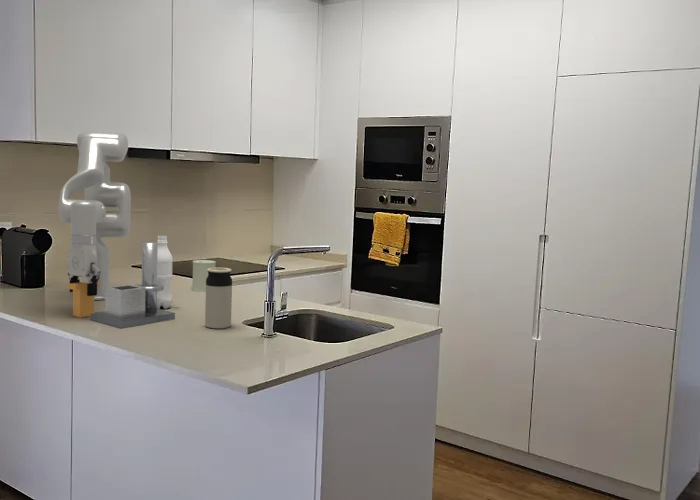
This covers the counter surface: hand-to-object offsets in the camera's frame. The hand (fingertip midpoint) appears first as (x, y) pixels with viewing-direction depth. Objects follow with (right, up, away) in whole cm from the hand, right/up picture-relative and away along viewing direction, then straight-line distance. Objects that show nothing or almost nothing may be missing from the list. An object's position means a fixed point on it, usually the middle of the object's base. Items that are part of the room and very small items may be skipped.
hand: (83, 293), depth 220 cm
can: (+26, -2, +57) cm, 63 cm away
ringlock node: (+16, -8, -1) cm, 18 cm away
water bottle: (+20, -6, +19) cm, 28 cm away
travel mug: (+44, -10, -5) cm, 46 cm away
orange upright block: (0, -7, +1) cm, 7 cm away
